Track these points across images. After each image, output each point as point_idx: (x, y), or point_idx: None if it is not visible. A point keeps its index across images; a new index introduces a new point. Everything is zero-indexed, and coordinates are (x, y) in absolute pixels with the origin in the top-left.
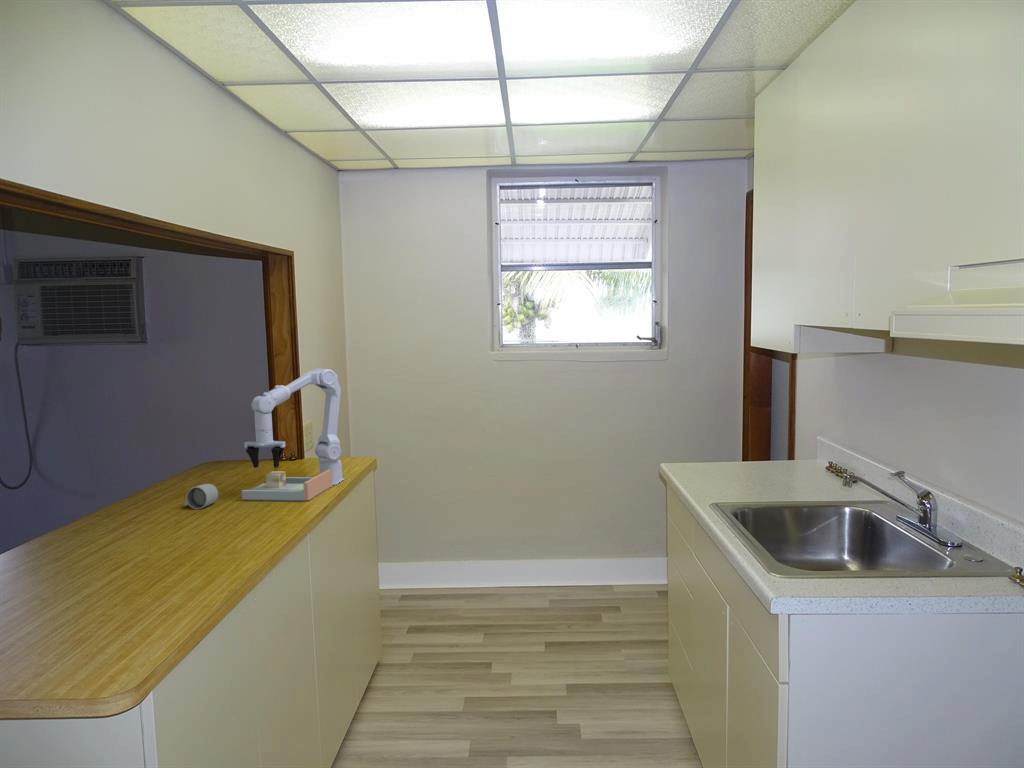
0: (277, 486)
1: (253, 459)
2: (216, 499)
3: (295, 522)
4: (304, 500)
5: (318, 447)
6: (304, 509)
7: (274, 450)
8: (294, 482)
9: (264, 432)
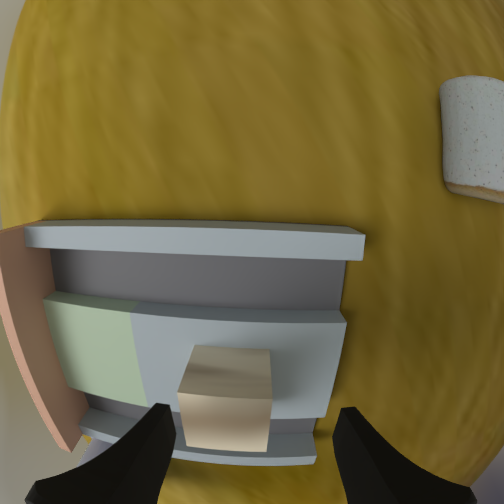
0: (203, 350)
1: (373, 454)
2: (444, 177)
3: (32, 13)
4: (47, 220)
5: None
6: (23, 119)
7: (51, 500)
8: None
9: None
